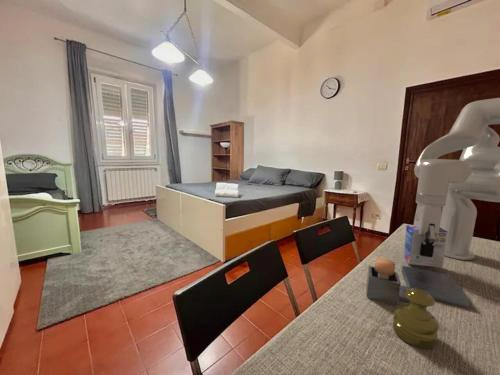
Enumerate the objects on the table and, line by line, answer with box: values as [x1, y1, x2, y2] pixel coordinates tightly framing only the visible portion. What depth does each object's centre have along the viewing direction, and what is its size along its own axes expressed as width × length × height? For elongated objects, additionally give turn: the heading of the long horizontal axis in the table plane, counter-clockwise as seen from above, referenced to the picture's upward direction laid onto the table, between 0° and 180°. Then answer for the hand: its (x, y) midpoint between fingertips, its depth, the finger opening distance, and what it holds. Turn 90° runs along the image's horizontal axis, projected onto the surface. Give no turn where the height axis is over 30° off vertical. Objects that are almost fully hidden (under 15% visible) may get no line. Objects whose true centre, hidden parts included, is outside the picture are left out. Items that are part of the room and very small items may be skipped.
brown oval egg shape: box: [374, 257, 396, 280], centre depth 58 cm, size 4×4×6 cm
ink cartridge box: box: [403, 224, 448, 268], centre depth 74 cm, size 10×6×14 cm, turn 78°
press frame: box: [365, 265, 470, 309], centre depth 62 cm, size 21×22×6 cm
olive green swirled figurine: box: [392, 288, 440, 350], centre depth 46 cm, size 7×7×10 cm
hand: (423, 251), depth 74 cm, fingers closed on ink cartridge box, 6 cm apart
